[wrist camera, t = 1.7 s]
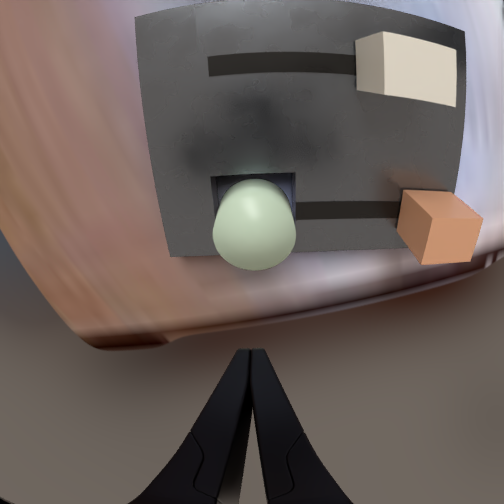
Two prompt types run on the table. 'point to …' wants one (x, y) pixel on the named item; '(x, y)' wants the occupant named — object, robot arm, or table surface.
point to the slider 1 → (406, 68)
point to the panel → (290, 118)
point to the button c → (254, 225)
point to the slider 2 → (438, 226)
